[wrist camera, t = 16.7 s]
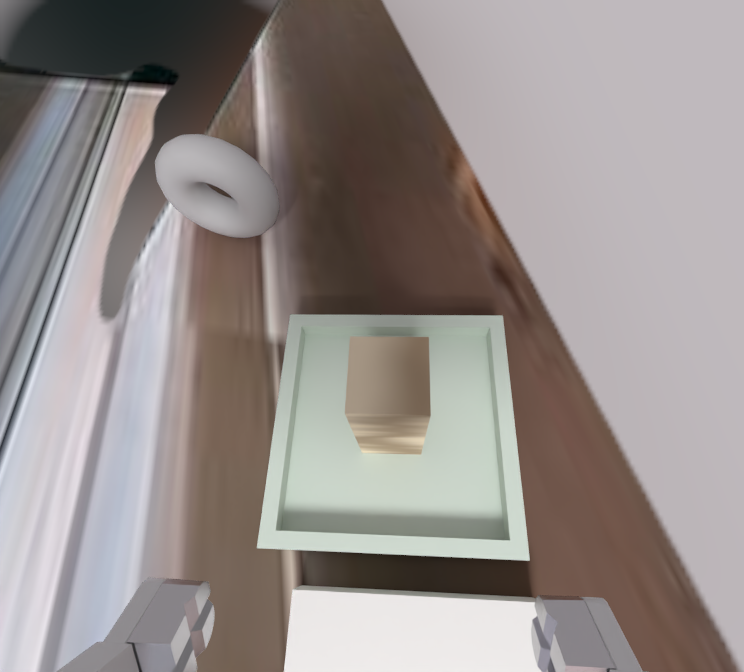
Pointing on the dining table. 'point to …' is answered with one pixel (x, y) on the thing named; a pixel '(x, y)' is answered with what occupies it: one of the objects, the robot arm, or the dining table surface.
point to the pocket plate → (408, 631)
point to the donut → (217, 185)
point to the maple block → (388, 393)
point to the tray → (396, 471)
